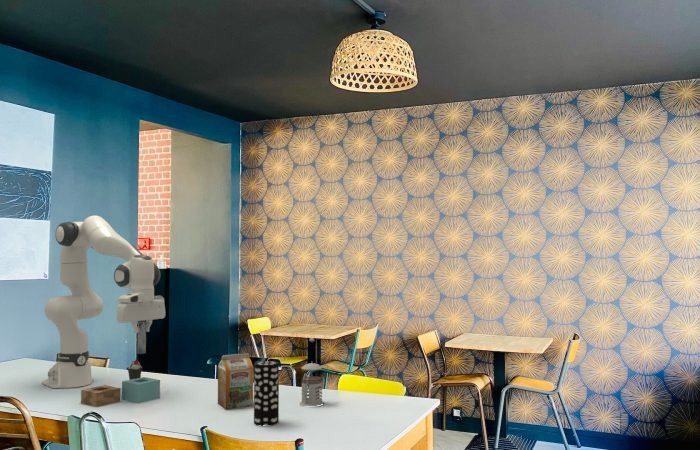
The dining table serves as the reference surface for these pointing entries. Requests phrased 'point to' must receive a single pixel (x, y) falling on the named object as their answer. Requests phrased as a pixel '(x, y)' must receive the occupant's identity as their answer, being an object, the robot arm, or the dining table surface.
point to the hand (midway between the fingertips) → (141, 332)
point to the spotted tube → (266, 393)
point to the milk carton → (235, 381)
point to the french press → (311, 386)
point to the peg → (142, 338)
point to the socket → (100, 395)
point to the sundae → (134, 370)
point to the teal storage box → (140, 390)
